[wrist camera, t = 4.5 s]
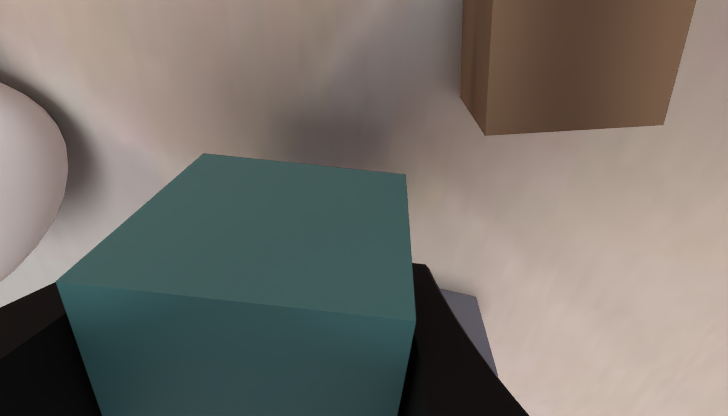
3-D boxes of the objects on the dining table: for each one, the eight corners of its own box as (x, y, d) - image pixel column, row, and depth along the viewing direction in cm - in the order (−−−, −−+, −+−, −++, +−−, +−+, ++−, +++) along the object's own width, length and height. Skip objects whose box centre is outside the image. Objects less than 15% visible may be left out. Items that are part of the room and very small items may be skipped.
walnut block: (614, -63, 14) (719, -88, 9) (588, 88, 16) (663, 124, 12) (463, -48, 14) (496, -65, 10) (460, 97, 17) (485, 135, 12)
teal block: (405, 174, 10) (415, 320, 6) (383, 325, 12) (378, 511, 8) (203, 153, 10) (55, 281, 6) (220, 307, 12) (125, 482, 8)
